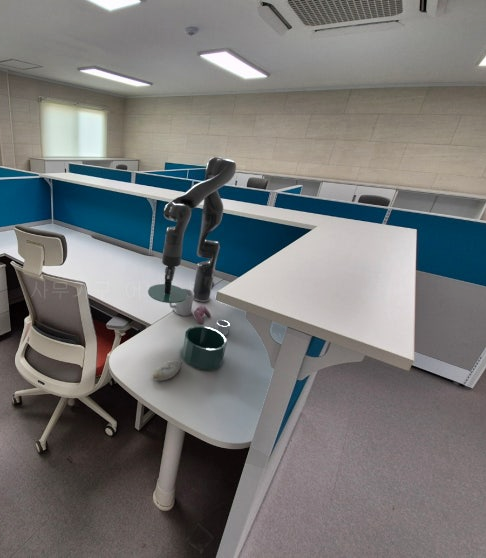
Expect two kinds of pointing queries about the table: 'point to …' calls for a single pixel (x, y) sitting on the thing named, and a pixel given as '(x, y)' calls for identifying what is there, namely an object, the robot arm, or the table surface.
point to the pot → (204, 347)
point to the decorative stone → (167, 370)
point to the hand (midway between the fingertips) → (167, 290)
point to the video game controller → (201, 313)
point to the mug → (184, 304)
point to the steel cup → (222, 326)
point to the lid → (172, 297)
